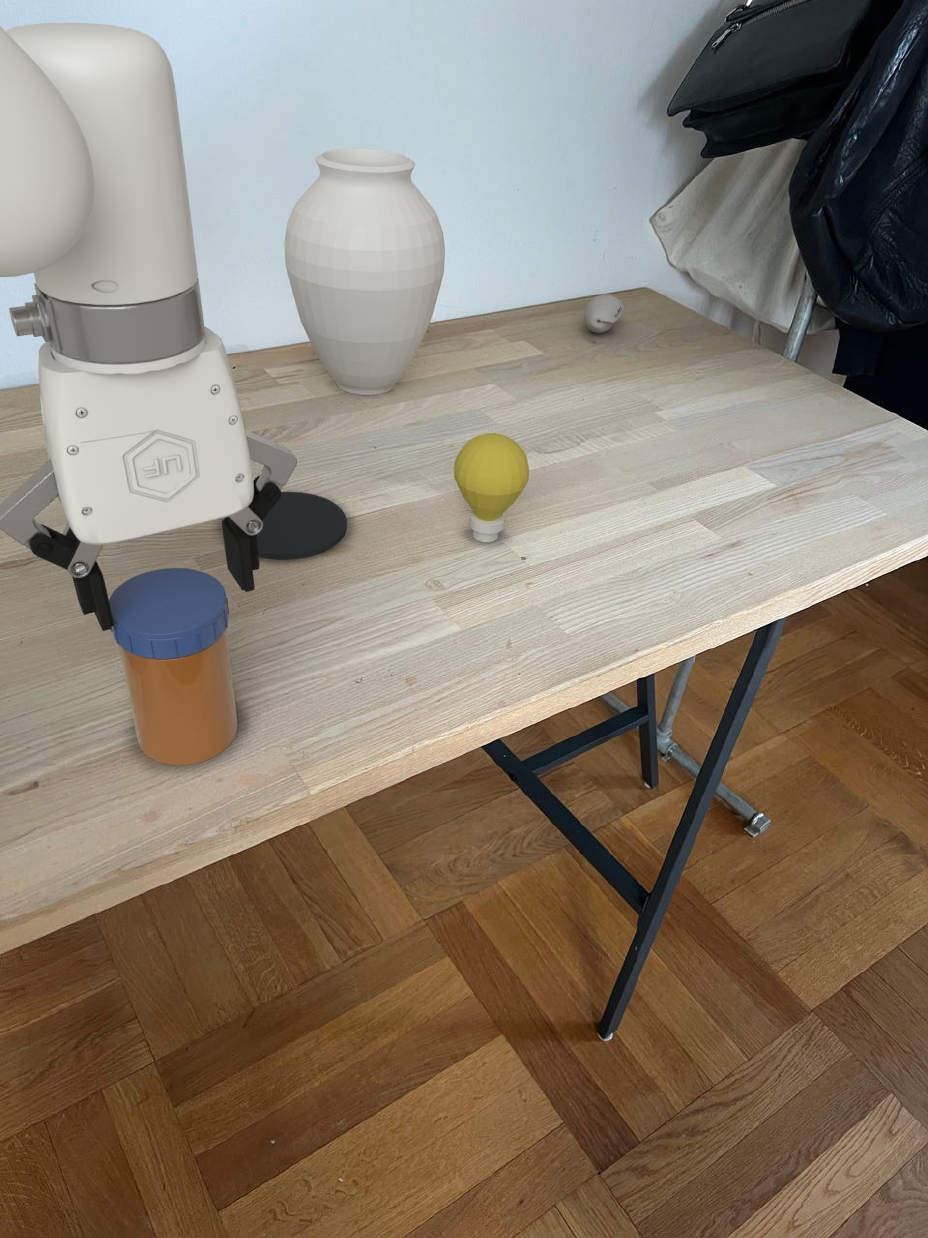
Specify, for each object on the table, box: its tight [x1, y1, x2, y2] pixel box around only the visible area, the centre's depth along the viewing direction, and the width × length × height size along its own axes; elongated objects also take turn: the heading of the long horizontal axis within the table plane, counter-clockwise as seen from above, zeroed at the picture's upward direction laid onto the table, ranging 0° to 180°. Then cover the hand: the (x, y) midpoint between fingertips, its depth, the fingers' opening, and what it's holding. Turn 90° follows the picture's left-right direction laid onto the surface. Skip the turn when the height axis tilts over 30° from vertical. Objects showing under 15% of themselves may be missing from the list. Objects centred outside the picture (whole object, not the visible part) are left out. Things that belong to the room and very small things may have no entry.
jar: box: [117, 628, 238, 766], centre depth 60 cm, size 7×7×11 cm
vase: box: [284, 147, 446, 396], centre depth 105 cm, size 18×18×25 cm
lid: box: [108, 567, 230, 659], centre depth 57 cm, size 7×7×2 cm
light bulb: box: [453, 432, 530, 543], centre depth 83 cm, size 7×7×10 cm
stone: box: [583, 293, 625, 334], centre depth 131 cm, size 10×5×5 cm, turn 165°
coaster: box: [256, 491, 348, 560], centre depth 85 cm, size 11×11×1 cm
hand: (174, 597), depth 57 cm, fingers open, 8 cm apart
